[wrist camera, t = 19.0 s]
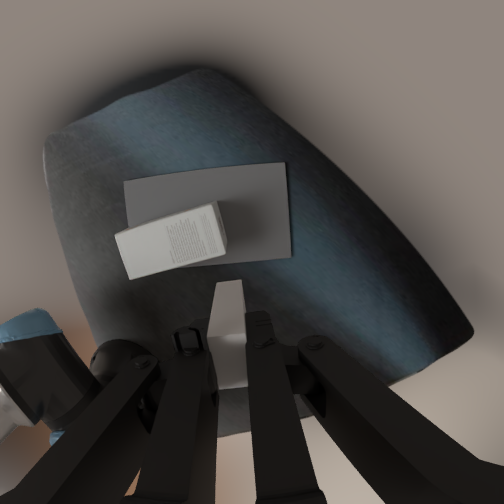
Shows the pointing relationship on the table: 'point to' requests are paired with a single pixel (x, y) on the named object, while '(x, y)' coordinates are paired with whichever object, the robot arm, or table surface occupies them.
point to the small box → (173, 241)
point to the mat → (223, 206)
